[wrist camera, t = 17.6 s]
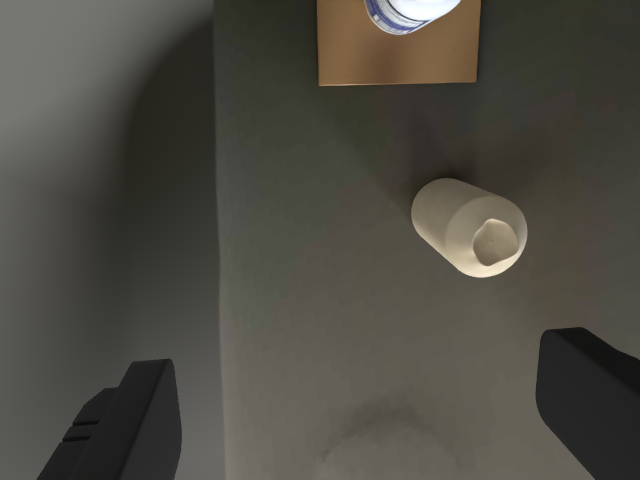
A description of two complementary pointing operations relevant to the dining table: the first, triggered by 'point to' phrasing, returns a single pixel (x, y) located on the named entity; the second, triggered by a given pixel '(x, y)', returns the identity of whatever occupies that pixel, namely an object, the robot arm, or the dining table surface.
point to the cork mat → (395, 47)
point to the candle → (469, 226)
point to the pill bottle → (406, 13)
